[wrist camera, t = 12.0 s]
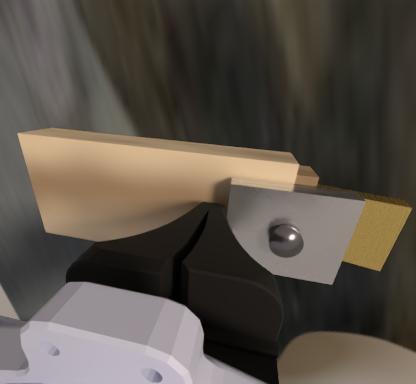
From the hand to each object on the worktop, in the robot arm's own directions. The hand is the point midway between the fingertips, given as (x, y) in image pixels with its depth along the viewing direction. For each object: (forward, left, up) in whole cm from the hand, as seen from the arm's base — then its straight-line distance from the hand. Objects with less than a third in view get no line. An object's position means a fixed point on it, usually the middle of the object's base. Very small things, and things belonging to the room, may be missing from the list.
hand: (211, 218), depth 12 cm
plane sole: (0, +4, -3) cm, 5 cm away
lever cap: (0, -4, 0) cm, 4 cm away
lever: (0, -5, -2) cm, 5 cm away
